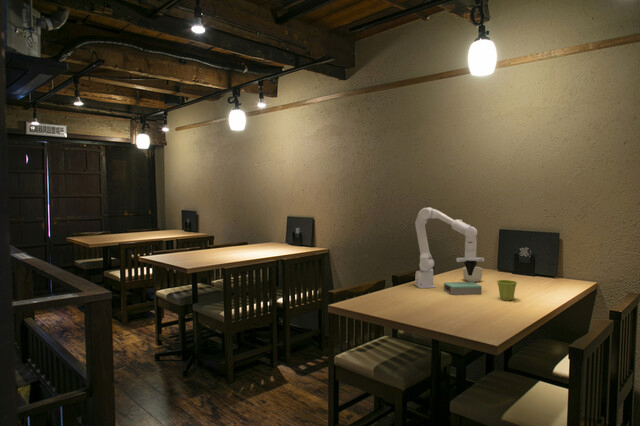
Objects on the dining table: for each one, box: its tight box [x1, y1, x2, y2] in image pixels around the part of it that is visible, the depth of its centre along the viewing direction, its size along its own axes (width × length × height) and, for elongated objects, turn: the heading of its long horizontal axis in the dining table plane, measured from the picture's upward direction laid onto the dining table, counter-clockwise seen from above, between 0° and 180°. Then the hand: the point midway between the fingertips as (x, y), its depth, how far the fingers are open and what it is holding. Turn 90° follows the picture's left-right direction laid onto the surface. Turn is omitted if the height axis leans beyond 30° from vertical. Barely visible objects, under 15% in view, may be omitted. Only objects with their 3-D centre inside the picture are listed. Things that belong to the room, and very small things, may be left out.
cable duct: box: [443, 283, 483, 296], centre depth 224 cm, size 16×10×4 cm, turn 96°
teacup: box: [462, 266, 483, 283], centre depth 252 cm, size 14×11×8 cm
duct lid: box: [443, 281, 482, 288], centre depth 224 cm, size 16×10×1 cm, turn 96°
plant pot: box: [496, 279, 518, 301], centre depth 211 cm, size 9×9×9 cm
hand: (469, 275), depth 226 cm, fingers closed
